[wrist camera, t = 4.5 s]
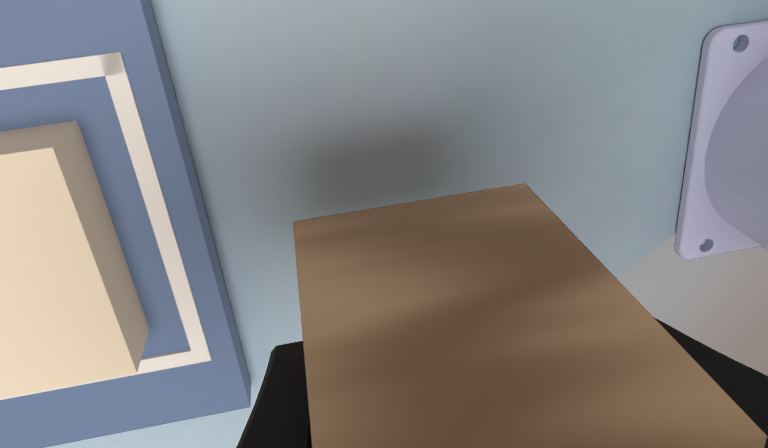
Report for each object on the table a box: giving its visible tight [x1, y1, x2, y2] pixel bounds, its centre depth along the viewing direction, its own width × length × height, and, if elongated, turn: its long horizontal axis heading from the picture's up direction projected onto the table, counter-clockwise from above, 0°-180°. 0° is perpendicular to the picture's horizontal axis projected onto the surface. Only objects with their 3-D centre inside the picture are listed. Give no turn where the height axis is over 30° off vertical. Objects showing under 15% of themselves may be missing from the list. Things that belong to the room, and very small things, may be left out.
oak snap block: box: [293, 183, 767, 448], centre depth 10 cm, size 4×4×7 cm
